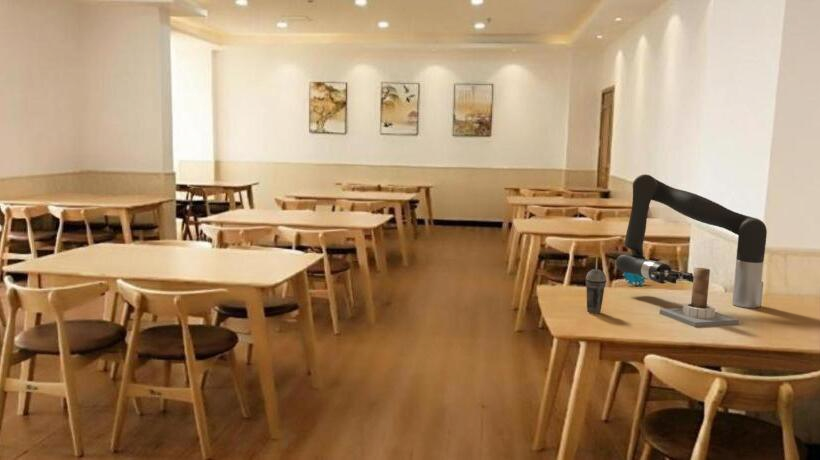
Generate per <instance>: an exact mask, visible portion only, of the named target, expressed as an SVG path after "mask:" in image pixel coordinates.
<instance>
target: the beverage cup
mask: <svg viewBox="0 0 820 460" xmlns="http://www.w3.org/2000/svg"><path fill="white" fill-rule="evenodd" d="M606 284H607V277H606V274H605V272H604V271H602V270H601V269H599V268H598V256H596V257H595V268H593V269H591V270H589V271H588V272H587V273H586V276H585V286H586V287H585V288H586V311H587V313H588V312H589V313H588V314H591V313H596V314H595V315H598V314H597V313H600V314H601V312H602V311H601V310H602V305H603V299H604V293H605V287H606V286H607V285H606Z"/></svg>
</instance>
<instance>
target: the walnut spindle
mask: <svg viewBox="0 0 820 460" xmlns="http://www.w3.org/2000/svg"><path fill="white" fill-rule="evenodd" d="M710 274H711V269H709V268H707V267H694V268H693V276H694V277H693V282H692V288H691V289H692V290H691V301H690V303H691V307H695V308H703V309H705V308H707V304H708V295H709V287H710V286H709V285H710V276H711V275H710Z"/></svg>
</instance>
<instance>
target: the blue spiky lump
mask: <svg viewBox="0 0 820 460" xmlns="http://www.w3.org/2000/svg"><path fill="white" fill-rule="evenodd" d="M622 276H623V277H624V280H625V281H626V282H627V284H629V285H633V283H634V286H635V287H637V286H639V287H640V286H642V285H643V284H644V283H645V282H646V279H647V278H644V277H641V276H639V275H636V274H631V273H626V272H623V274H622Z"/></svg>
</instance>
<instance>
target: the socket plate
mask: <svg viewBox="0 0 820 460" xmlns="http://www.w3.org/2000/svg"><path fill="white" fill-rule="evenodd" d="M658 312H659V314H660V315H663V316H665V317H668V318H670V319H673V320H675V321H679V322H681V323H683V324H685V325H688V326H690V327H693V326H694V328H698V327H701V328H702V327H715V326H717V327H718V326H727V325H731V326H732V325H739V324H740V323H739V322H740V319H737V318H734V317H732V316H729V315H726V314H723V313H720V312H717V311H716V307H715V306H714V305H711V304H708V303H707V308H705V309H703V308H695V307H691V302H685V303H683V304H682V307H679V308H659V311H658Z"/></svg>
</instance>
